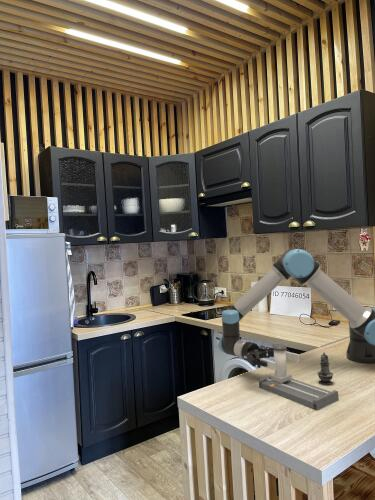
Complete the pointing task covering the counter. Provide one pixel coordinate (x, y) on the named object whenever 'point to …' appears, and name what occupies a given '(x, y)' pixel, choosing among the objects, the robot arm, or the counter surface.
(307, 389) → the console
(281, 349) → the fader
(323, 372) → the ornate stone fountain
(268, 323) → the counter surface
